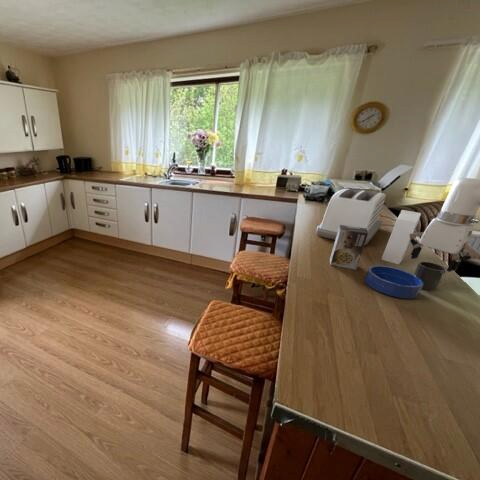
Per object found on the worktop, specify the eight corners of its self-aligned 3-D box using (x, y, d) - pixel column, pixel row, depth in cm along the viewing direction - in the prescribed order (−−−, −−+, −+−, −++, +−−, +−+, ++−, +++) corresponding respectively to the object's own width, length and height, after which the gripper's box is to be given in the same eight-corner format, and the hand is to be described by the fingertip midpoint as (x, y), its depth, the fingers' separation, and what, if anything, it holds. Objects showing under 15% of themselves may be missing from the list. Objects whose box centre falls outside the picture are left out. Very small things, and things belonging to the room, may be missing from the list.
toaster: (381, 227, 150) (395, 189, 141) (364, 248, 121) (381, 203, 112) (336, 218, 165) (346, 183, 156) (312, 235, 136) (323, 194, 128)
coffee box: (354, 264, 107) (367, 228, 101) (356, 270, 102) (369, 233, 95) (329, 258, 111) (339, 224, 105) (329, 264, 106) (340, 228, 100)
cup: (440, 288, 91) (450, 268, 87) (430, 292, 88) (440, 272, 85) (416, 278, 96) (424, 260, 93) (406, 282, 94) (414, 263, 91)
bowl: (426, 293, 87) (432, 281, 85) (403, 304, 82) (409, 291, 80) (378, 273, 99) (382, 262, 98) (355, 281, 94) (359, 270, 92)
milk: (398, 264, 107) (420, 214, 98) (380, 259, 111) (399, 211, 102) (401, 260, 110) (423, 211, 101) (384, 255, 114) (403, 208, 106)
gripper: (500, 224, 76) (471, 274, 83) (426, 209, 91) (406, 252, 98) (489, 228, 74) (460, 278, 80) (415, 211, 88) (395, 255, 95)
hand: (431, 264), depth 89 cm, fingers open, 9 cm apart
